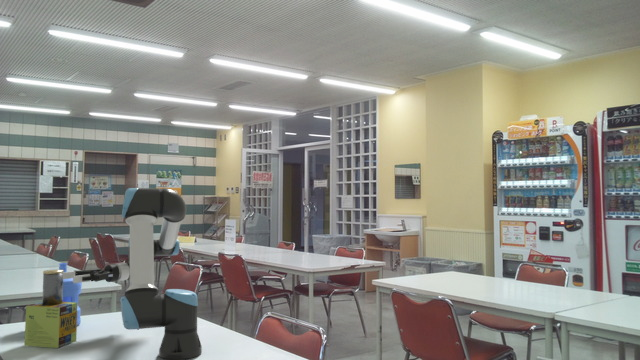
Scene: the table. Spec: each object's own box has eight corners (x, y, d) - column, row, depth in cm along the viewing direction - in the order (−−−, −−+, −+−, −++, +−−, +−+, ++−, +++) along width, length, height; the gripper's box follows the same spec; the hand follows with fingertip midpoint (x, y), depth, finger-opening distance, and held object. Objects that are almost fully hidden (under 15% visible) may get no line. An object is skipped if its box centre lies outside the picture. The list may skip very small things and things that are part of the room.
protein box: (58, 348, 188) (59, 307, 189) (23, 346, 191) (25, 305, 192) (77, 341, 199) (78, 302, 199) (43, 338, 202) (45, 300, 202)
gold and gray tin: (65, 303, 196) (66, 270, 197) (46, 306, 191) (47, 272, 191) (58, 301, 201) (59, 269, 202) (39, 303, 195) (40, 270, 196)
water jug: (32, 328, 217) (35, 264, 219) (61, 320, 232) (63, 261, 234) (61, 331, 213) (63, 266, 214) (88, 323, 228) (90, 262, 229)
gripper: (130, 284, 208) (79, 290, 192) (102, 278, 224) (52, 283, 208) (131, 266, 208) (80, 271, 192) (102, 261, 224) (53, 266, 208)
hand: (65, 277), depth 200 cm, fingers open, 13 cm apart
